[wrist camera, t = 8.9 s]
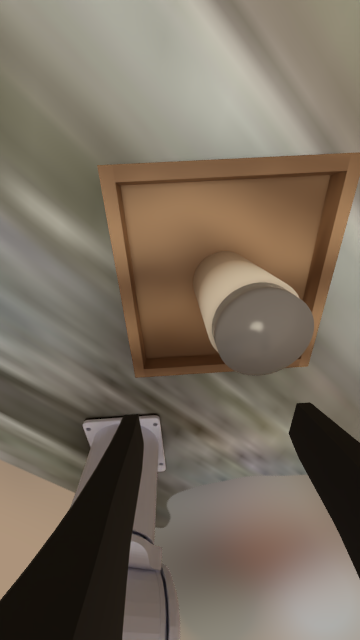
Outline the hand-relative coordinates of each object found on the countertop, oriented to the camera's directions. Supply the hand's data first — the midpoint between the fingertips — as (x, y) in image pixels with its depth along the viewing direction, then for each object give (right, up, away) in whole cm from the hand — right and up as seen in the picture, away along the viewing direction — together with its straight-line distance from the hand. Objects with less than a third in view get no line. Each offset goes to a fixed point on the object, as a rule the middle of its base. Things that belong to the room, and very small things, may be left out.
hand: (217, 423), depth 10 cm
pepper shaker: (+1, +8, +6) cm, 10 cm away
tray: (+1, +8, +7) cm, 10 cm away
